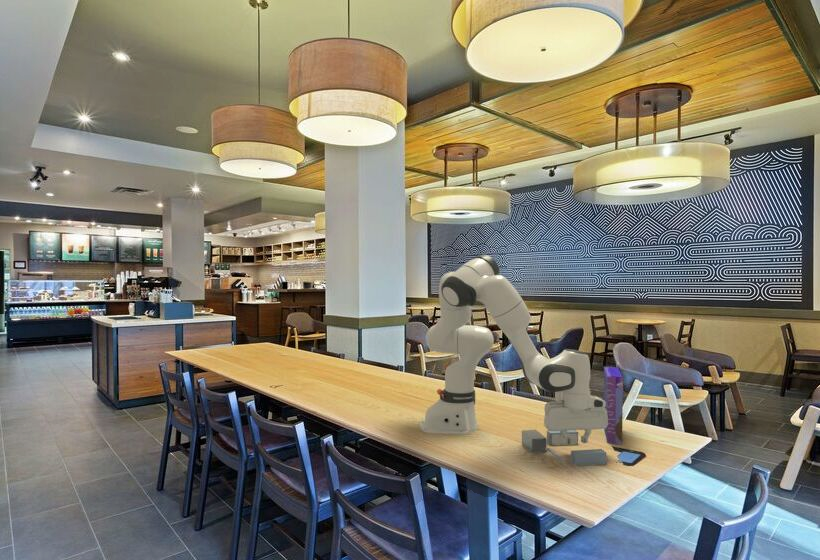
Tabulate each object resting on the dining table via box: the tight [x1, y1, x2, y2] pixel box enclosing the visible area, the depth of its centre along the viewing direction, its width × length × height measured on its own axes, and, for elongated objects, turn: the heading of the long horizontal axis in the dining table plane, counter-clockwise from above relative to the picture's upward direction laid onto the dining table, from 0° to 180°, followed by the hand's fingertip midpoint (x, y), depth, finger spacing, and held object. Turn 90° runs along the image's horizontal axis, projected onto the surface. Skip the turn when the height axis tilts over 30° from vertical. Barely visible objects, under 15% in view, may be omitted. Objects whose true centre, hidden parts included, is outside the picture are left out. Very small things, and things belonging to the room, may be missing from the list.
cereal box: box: [603, 365, 624, 445], centre depth 161 cm, size 17×5×24 cm, turn 160°
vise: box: [547, 447, 607, 466], centre depth 141 cm, size 12×14×5 cm
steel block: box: [521, 429, 548, 454], centre depth 148 cm, size 5×8×6 cm, turn 10°
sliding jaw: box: [546, 429, 579, 446], centre depth 154 cm, size 10×7×5 cm
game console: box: [611, 445, 647, 467], centre depth 142 cm, size 14×13×2 cm
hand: (575, 442), depth 143 cm, fingers open, 4 cm apart
